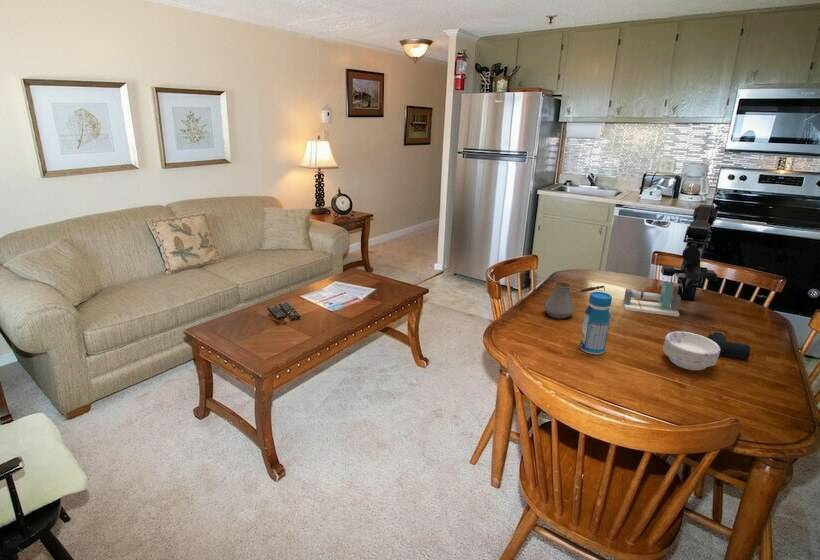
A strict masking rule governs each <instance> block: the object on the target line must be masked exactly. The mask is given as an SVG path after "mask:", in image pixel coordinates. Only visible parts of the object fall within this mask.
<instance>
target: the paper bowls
mask: <svg viewBox="0 0 820 560" xmlns="http://www.w3.org/2000/svg"><path fill="white" fill-rule="evenodd" d="M662 351H663V353H664V354H665V355H666V356H667V357H668V359H669V360H670V361H671V363H672V364H674V365H675V366H677V367H679V368H681V369H684V370H689V371H702V370H706V368H710V367H713V366H715V365H716V364H717V362H718V360H719V357H720V355H719V353H720V347H719V345H718V344H717V343H715V342H714V341H712V340H711V339H709V338H708V337H706V336H703V335H700V334H697V333H693V332H689V331H671V332H669V333H667V334H666V335H665V337H664V342H663V346H662Z"/></svg>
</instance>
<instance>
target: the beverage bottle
mask: <svg viewBox="0 0 820 560" xmlns="http://www.w3.org/2000/svg"><path fill="white" fill-rule="evenodd" d="M588 298H589V300H588V304H589V305H588V306H587V307H586V309H585V310H584V316H583V318H582V329H581V336H580V341H579V349H581V351H583V352H585V353H587V354H590V355H602V354H604V353H605V351H606V347H607V346H606V345H607V341H608V335H609V331H610V330H609V329H610V327H611V318H612V312H611V309H610V307H611V305H612V302H613V301H612V299H613V297H612V295H611V294H609V293H607V292H605V291H591V292H590V294H589V297H588Z"/></svg>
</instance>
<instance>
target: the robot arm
mask: <svg viewBox="0 0 820 560" xmlns="http://www.w3.org/2000/svg"><path fill="white" fill-rule="evenodd" d="M718 212H719V210H718V209H717V208H715V207H714V206H713V205H709V204H699V206H696V207H695V208H694V210H693V214H692V219H693V221H691V222H690V223H689V225H688V226H687V228H686V232H685V235H684V238H683V241H682V242H683V243H686V245H685V248H684V250H683V251H682V262H681V265H680V269H679V268H675V266H673V265H666V264H665V265H662V266H661V268H660V272H661V274H662V276H666V277H673V276H674V275H675V276H676V277H677V282H676V284H677V287H676V291H675V294H678V295H680V297H681V300H687V301H694V302H695V301H696V298H695V297H696V293H697V288H701V287H702V285H703V280H704V278H705V279H706V280H707V281H713V282H717V280H718V274H717V272H716V271H714V269H708V267H705V266H704V267H703V266H701V259H702V258H701V257H702V253H703V249H704V246H707V244H709V243H710V240H711V237H712V229H711V227H712V226H713V225H714V222H716V221H717V220H716V219H717V217H718Z"/></svg>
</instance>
